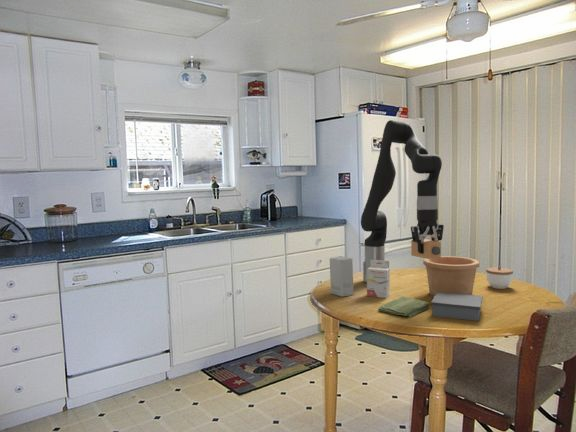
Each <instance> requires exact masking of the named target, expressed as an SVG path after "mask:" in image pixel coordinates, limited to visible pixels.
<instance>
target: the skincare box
mask: <svg viewBox="0 0 576 432" xmlns="http://www.w3.org/2000/svg"><path fill="white" fill-rule="evenodd" d="M353 265H354V264H353V258H351V257H346V256H335V257H333V256H332V257H330V258H329V274H330V275H329V276H330V280H329V281H330V294H331V295H336V296H338V297H341V298H342V297H343V298H344V297H349V296H353V295H354V268H353V267H354V266H353Z"/></svg>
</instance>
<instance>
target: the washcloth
mask: <svg viewBox="0 0 576 432" xmlns="http://www.w3.org/2000/svg"><path fill="white" fill-rule="evenodd" d="M430 305H431V303H430V302H427V301H425V300H420V299H415V298H414V299H413V298H412V297H407V296H402V295H401V296H400V297H399V298H395V299H393V300H391V301H389V302H386V303H383V304H382V305H380V306H379V307H378V308H377V311H380V312H382V313H386V314H390V315H396V316H401V317H405V318H412V317H414V316H416V315H418V314H420V313H422V312H425V310H428V309H429V308H430Z"/></svg>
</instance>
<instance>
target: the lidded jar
mask: <svg viewBox="0 0 576 432" xmlns="http://www.w3.org/2000/svg"><path fill="white" fill-rule="evenodd" d="M485 271H486V274H485V275H486V276H485V277H486V281H487V283H488V284H489V285H490V287H491V288H493V289H498V290H499V289H502V290H503V289H504V290H505V289H507V288H508V287H509V286H510V285H511V284H512V282H513V275H514V270H513V269H510V268H506V267H502V266H501V265H498V267H496V266H495V267H487V268H486V269H485Z"/></svg>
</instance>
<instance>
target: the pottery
mask: <svg viewBox="0 0 576 432" xmlns="http://www.w3.org/2000/svg"><path fill="white" fill-rule="evenodd" d="M422 264H423V265H424V266H425V269H426V276H427V277H426V278H427V283H428V284H427V285H428V291H429V294H430V296H432V297H433V298H434V297H435V295H436V293H437V292H447V293H458V294H469V295H473V293H474V292H473V290H474V286H475V285H474V284H475V279H476V272H477V268H479V267H480V260H477V259H474V258H471V257H464V256H454V255H441V258H435V259H426V258H423V261H422Z"/></svg>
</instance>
